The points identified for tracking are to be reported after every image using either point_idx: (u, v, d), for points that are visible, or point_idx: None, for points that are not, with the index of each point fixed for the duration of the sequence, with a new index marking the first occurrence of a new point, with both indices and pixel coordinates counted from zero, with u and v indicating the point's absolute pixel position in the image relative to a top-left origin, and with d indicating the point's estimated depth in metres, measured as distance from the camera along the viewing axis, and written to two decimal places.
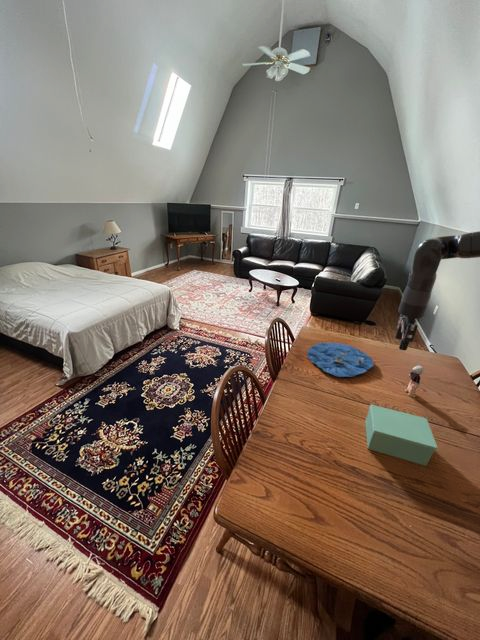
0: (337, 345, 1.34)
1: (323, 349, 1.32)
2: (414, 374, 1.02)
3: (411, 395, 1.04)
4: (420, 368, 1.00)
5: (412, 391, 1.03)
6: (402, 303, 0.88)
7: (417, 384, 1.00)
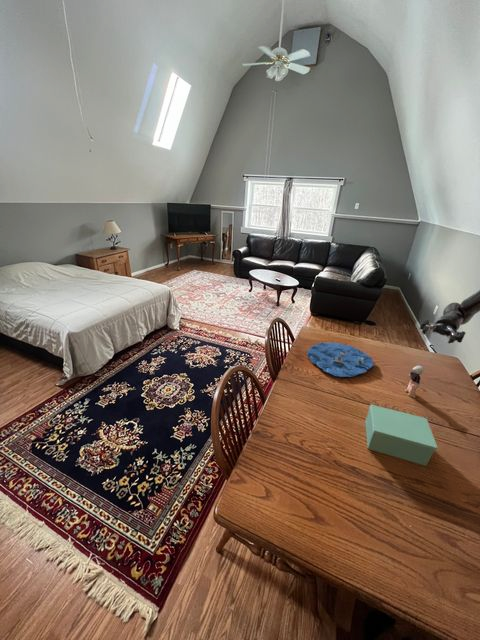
0: (337, 345, 1.34)
1: (323, 349, 1.31)
2: (414, 374, 1.02)
3: (411, 395, 1.04)
4: (420, 368, 1.00)
5: (412, 391, 1.03)
6: None
7: (417, 384, 1.00)
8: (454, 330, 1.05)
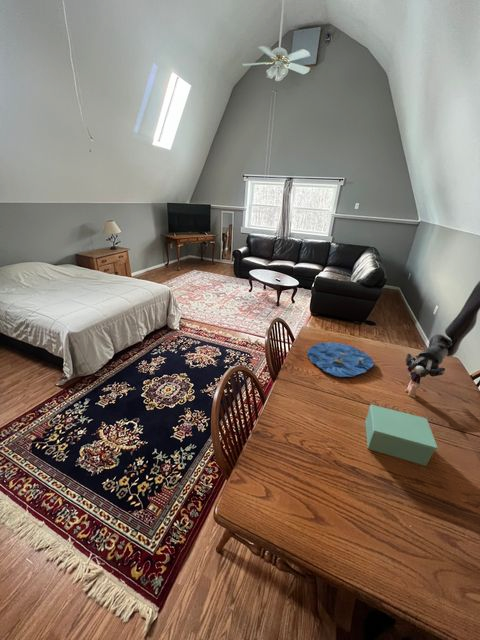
0: (337, 345, 1.34)
1: (323, 349, 1.32)
2: (414, 374, 1.02)
3: (411, 395, 1.04)
4: (420, 368, 1.00)
5: (412, 391, 1.03)
6: None
7: (417, 384, 1.00)
8: (435, 365, 1.02)
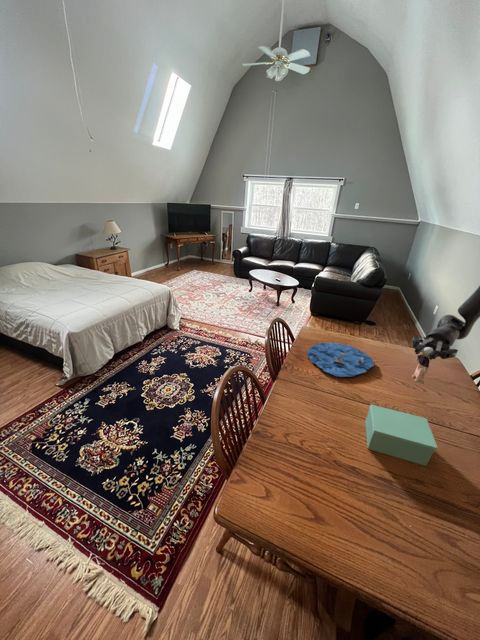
0: (337, 345, 1.34)
1: (323, 349, 1.31)
2: (422, 357, 0.89)
3: (419, 381, 0.91)
4: (429, 349, 0.87)
5: (420, 376, 0.90)
6: None
7: (426, 368, 0.87)
8: (446, 346, 0.90)
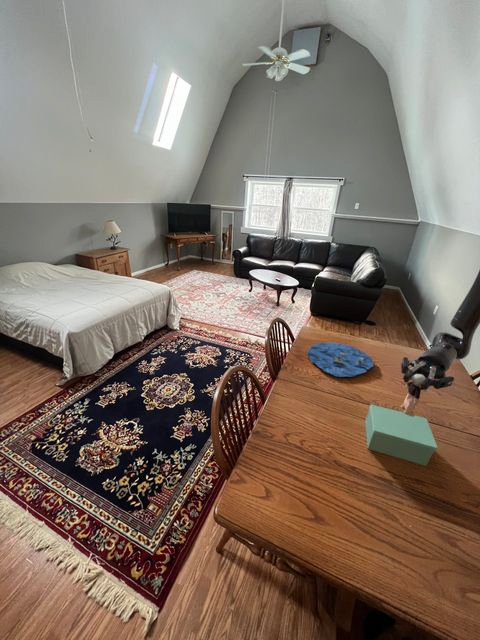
0: (337, 345, 1.34)
1: (323, 349, 1.31)
2: (412, 385, 0.75)
3: (408, 413, 0.77)
4: (420, 378, 0.73)
5: (410, 408, 0.76)
6: None
7: (416, 399, 0.73)
8: (441, 373, 0.76)
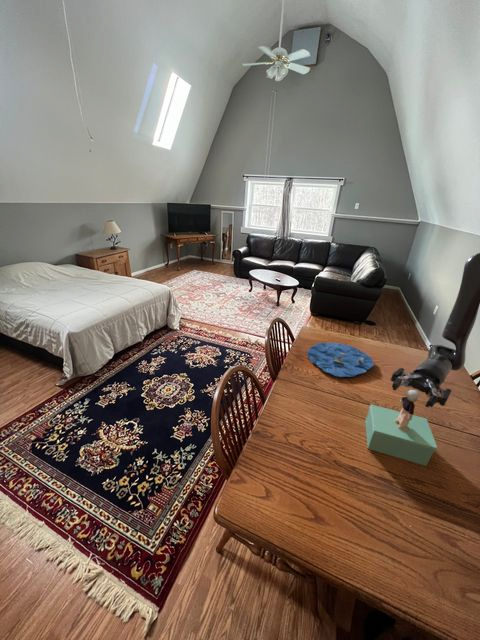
0: (337, 345, 1.34)
1: (323, 349, 1.31)
2: (407, 401, 0.77)
3: (403, 428, 0.78)
4: (414, 394, 0.74)
5: (404, 423, 0.78)
6: None
7: (410, 415, 0.75)
8: (436, 386, 0.77)
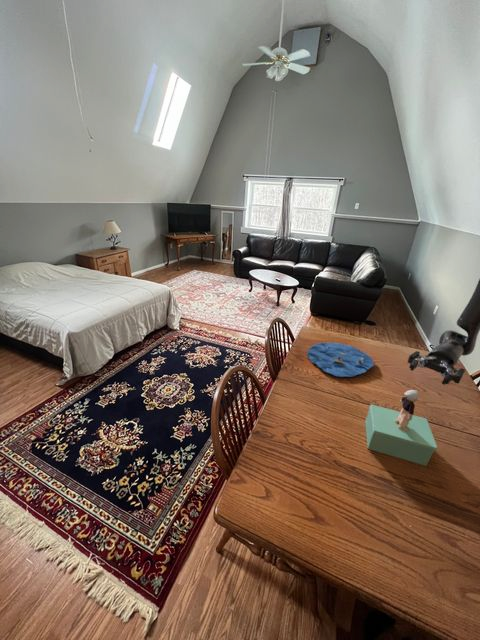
0: (337, 345, 1.34)
1: (323, 349, 1.31)
2: (407, 401, 0.77)
3: (403, 428, 0.78)
4: (414, 394, 0.74)
5: (404, 423, 0.78)
6: None
7: (410, 415, 0.75)
8: (450, 366, 0.83)
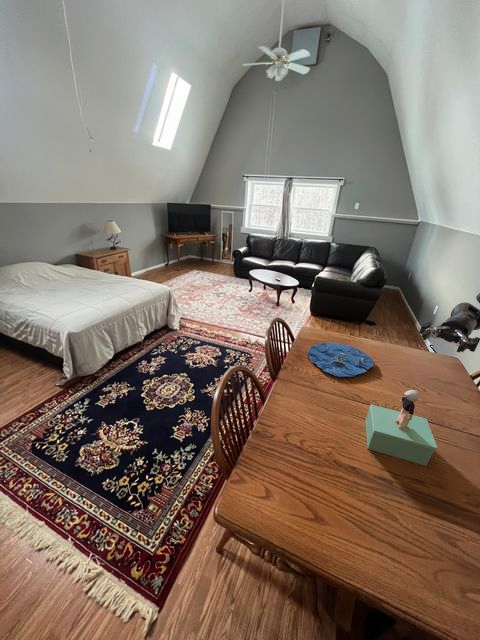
0: (337, 345, 1.34)
1: (323, 349, 1.32)
2: (407, 401, 0.77)
3: (403, 428, 0.78)
4: (414, 394, 0.74)
5: (404, 423, 0.78)
6: None
7: (410, 415, 0.75)
8: (465, 335, 0.79)
